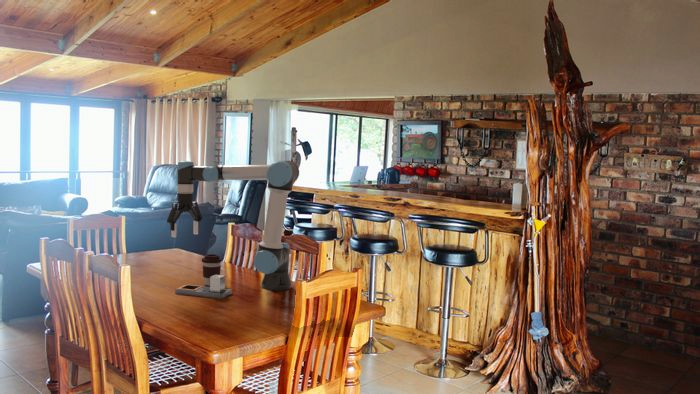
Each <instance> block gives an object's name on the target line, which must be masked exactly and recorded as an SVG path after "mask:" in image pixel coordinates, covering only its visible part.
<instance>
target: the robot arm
mask: <svg viewBox="0 0 700 394" xmlns="http://www.w3.org/2000/svg"><path fill="white" fill-rule="evenodd" d="M176 172H177V195H176V196H177V197H176V199H177V203H175V202H173V203H172V206H171V210H170V211H169V212H170V213H169V215H168V216H167V220H166V223H169V224H170V225H169V226H170V231H171V232H170V233H171V238H177V221H178V219H179V218H180V216H181V215H182V214H183V213H186V212H188V213H189V214H190V216H191V217H192V218H193V227H192V229H193V234H192V235H199V227H200V222H201V221H202V220H204V219H203V216H202V213H201V210H200V207H199V203H198V201H194V182H207V183H211V182H217V181H267V189H268V191H269V197H268V201H267V202H268V203H267V209H266V216H265V217H266V218H265V222H264V223H265V224H264V228H263V229H264V230H263V236H262V240H261V241H260V242H259V243H258V246H257V247H258V248H257V252H256V253H255V255H254V257H253V265H254V267H255V269H256V270H257V271H258V272H260V274H261V273H262V274H263V278H262V280H261V284H260V285H261V287H260V288H261V289H263V290H269V291H274V292H276V291H277V292H278V291H280V292H281V291H289V290H291V289H292V285H293V284H292V280H291V276H290V274H289V271H290V269H289V267H290V250H291V249H290V244H289V243H287V242H282V237H283V236H282V235H283V230H284V229H283V228H284V223H285V217H286V209H287V205H288V203H287V202H288V195H289V194H290V193H291V192H293V185H294V183H295V182H296V181H297V180H298V178H299V177H300V169H299V166H298V165H297V164H296V163H295V162H294V161H292V160H277V161H275V162H274V161H273V163H271V164H224V165H219V164H214V165H195V164H194V162H193V161H190V160H180V161H178V163H177V169H176Z"/></svg>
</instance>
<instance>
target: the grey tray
mask: <svg viewBox="0 0 700 394" xmlns="http://www.w3.org/2000/svg"><path fill="white" fill-rule="evenodd" d="M174 291H175V295H176V294H177V295H186V296H193V297H194V296H195V297H200V298H201V297H203V298H210V299H219V300H222V299H224V298H227V297H229V296H230V295H232V294H233V289H230V288H225V292H223V293H213V292H210V286H203V285H195V284H184V285H182V286H180V287H177V288H175V290H174Z"/></svg>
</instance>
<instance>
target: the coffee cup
mask: <svg viewBox="0 0 700 394" xmlns="http://www.w3.org/2000/svg"><path fill="white" fill-rule="evenodd" d="M201 262H202V277H203V284H204V285H205V286H210V277H211V276H213V275H221V266H222V262H223V258H222V257H220V255H219V254H212V253H211V254H210V253H208V254H205V255H204V257H202V258H201Z"/></svg>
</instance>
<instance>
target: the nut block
mask: <svg viewBox="0 0 700 394" xmlns="http://www.w3.org/2000/svg"><path fill="white" fill-rule="evenodd" d="M209 287H210V292H213V293H223V292H225V289H226V275H224V274H220V275H213V276H211V277H210V285H209Z"/></svg>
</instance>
